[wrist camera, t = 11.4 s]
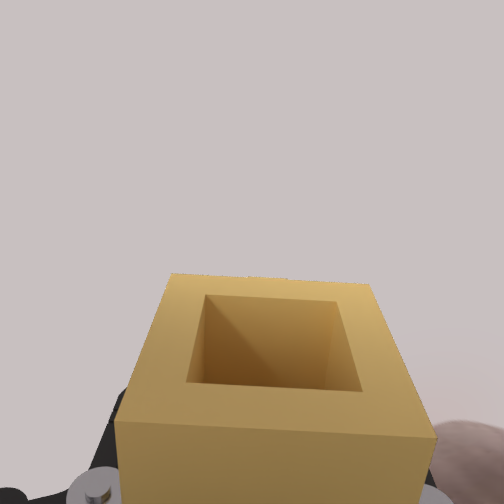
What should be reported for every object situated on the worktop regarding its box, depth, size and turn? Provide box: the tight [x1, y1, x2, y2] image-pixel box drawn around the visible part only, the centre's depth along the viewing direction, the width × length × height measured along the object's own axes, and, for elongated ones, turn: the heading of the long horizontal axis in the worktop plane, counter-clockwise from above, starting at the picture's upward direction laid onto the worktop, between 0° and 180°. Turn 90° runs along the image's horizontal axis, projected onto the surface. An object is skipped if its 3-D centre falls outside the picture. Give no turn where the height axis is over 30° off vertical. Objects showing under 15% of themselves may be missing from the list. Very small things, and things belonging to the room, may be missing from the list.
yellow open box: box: [114, 273, 438, 504], centre depth 13 cm, size 7×5×10 cm
